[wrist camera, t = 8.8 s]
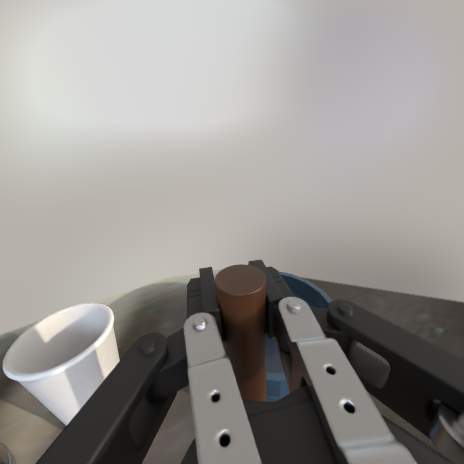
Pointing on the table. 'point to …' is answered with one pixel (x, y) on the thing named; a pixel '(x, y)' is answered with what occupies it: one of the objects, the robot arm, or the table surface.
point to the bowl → (274, 369)
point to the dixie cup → (65, 357)
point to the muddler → (244, 326)
